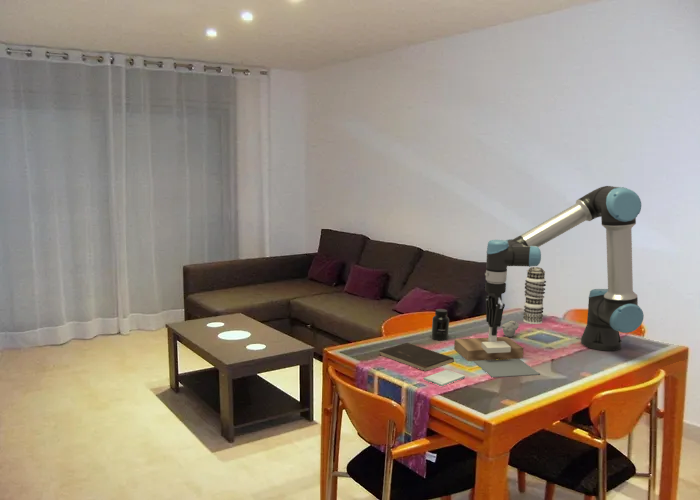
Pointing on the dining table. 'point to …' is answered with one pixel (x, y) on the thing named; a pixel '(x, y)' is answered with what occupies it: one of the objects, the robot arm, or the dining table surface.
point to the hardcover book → (416, 356)
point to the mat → (506, 368)
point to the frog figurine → (510, 328)
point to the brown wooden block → (476, 353)
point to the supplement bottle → (440, 325)
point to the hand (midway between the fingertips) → (492, 342)
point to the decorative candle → (534, 295)
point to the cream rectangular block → (496, 347)
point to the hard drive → (444, 377)
